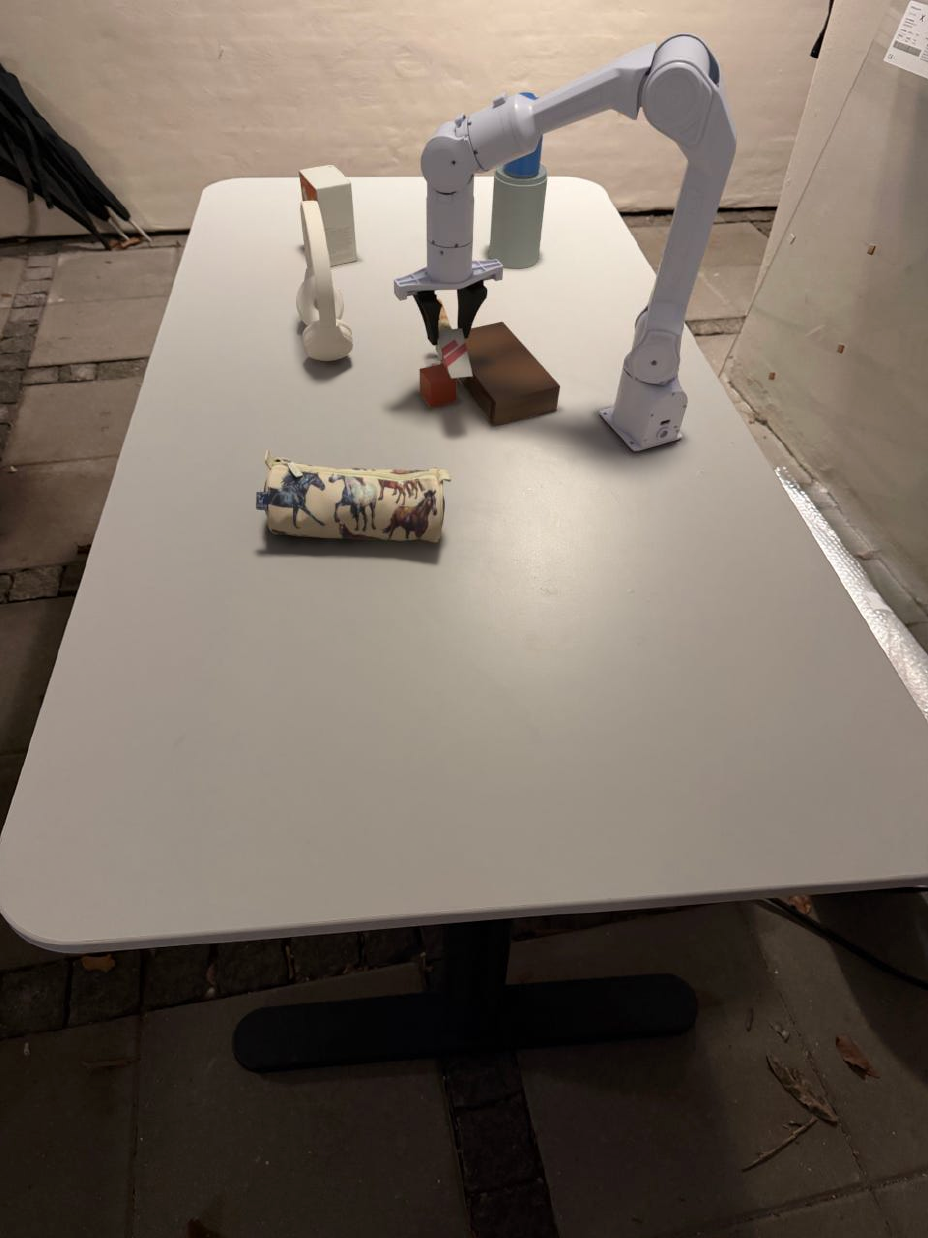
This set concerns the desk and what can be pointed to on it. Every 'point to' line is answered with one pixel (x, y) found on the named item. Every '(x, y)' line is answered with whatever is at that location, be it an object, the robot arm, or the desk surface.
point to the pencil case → (352, 502)
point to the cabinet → (507, 376)
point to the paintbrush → (452, 348)
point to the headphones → (320, 294)
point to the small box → (332, 209)
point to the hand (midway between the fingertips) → (448, 338)
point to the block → (437, 386)
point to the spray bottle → (518, 209)
